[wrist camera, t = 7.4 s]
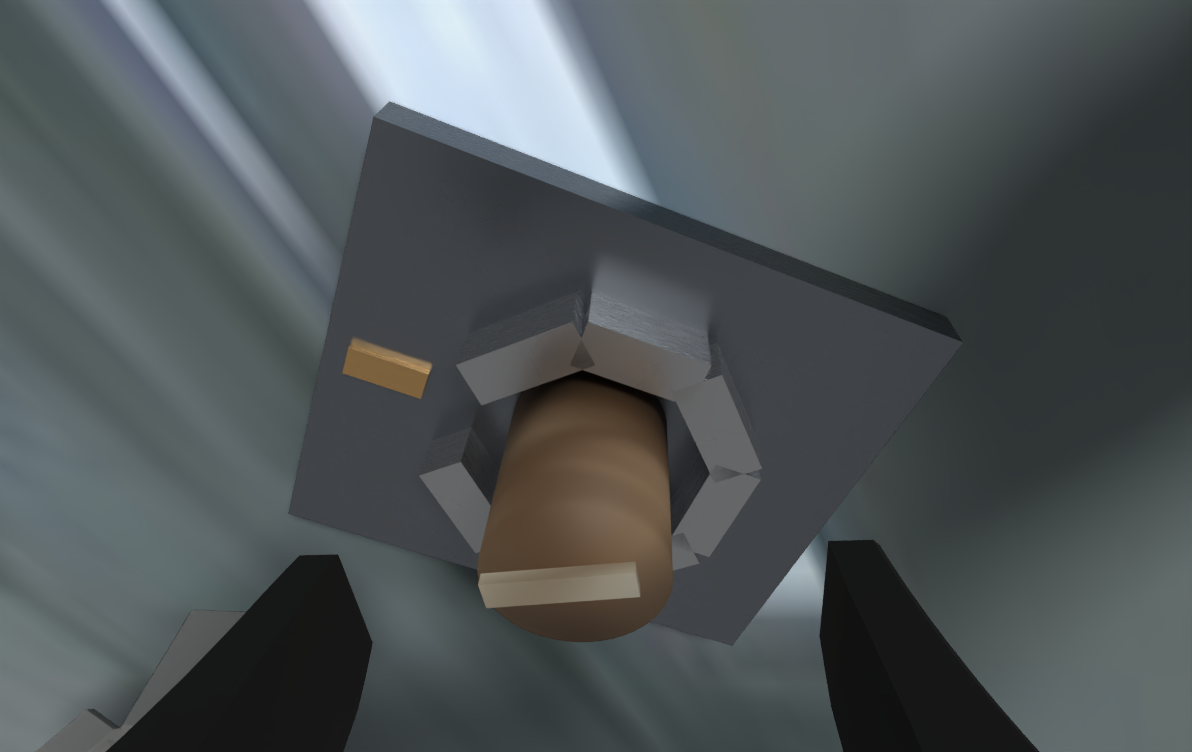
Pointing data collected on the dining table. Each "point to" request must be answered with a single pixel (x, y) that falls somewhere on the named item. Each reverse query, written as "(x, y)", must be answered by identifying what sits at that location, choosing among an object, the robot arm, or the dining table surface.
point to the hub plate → (594, 361)
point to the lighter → (148, 684)
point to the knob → (580, 512)
